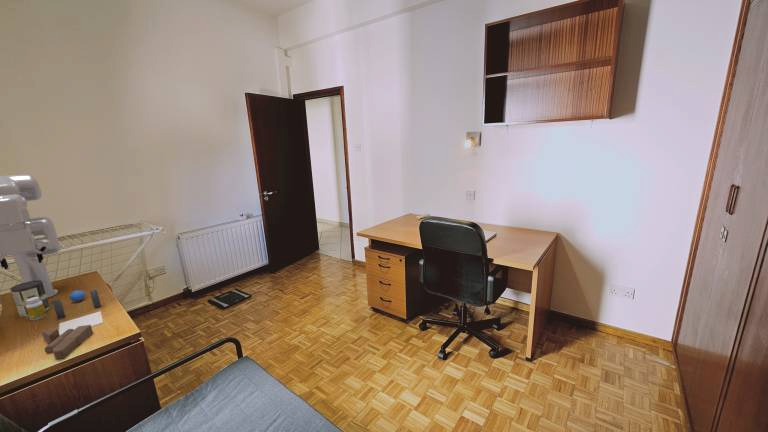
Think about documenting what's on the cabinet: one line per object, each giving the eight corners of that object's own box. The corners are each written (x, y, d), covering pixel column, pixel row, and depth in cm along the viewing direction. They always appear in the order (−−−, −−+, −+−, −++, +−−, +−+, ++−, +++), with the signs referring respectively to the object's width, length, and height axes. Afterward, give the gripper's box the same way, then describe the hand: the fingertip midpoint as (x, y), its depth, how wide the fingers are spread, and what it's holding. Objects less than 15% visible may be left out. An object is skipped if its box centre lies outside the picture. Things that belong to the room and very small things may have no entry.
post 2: (94, 307, 153) (89, 290, 151) (101, 305, 155) (96, 288, 152) (94, 308, 151) (89, 292, 149) (101, 306, 153) (97, 290, 151)
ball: (71, 301, 159) (68, 291, 158) (86, 297, 163) (83, 287, 162) (71, 304, 155) (68, 294, 154) (86, 300, 159) (83, 290, 158)
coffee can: (39, 304, 156) (31, 279, 153) (56, 306, 154) (48, 280, 151) (13, 315, 146) (3, 289, 143) (29, 317, 144) (20, 290, 141)
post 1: (57, 317, 144) (52, 300, 142) (65, 315, 146) (60, 298, 144) (57, 319, 142) (52, 302, 140) (65, 317, 144) (60, 300, 142)
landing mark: (59, 323, 139) (59, 323, 139) (100, 311, 148) (100, 311, 148) (59, 336, 129) (59, 336, 129) (103, 322, 139) (103, 322, 139)
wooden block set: (91, 321, 131) (61, 347, 115) (95, 332, 133) (65, 360, 116) (43, 327, 127) (3, 355, 110) (46, 339, 128) (8, 369, 112)
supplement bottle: (35, 321, 141) (29, 302, 139) (26, 320, 142) (20, 301, 140) (49, 314, 147) (44, 296, 144) (41, 313, 148) (35, 295, 145)
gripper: (42, 221, 136) (53, 257, 140) (-20, 229, 124) (-7, 268, 128) (41, 224, 131) (52, 261, 135) (-24, 233, 119) (-10, 273, 123)
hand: (24, 265), depth 131 cm, fingers open, 9 cm apart
